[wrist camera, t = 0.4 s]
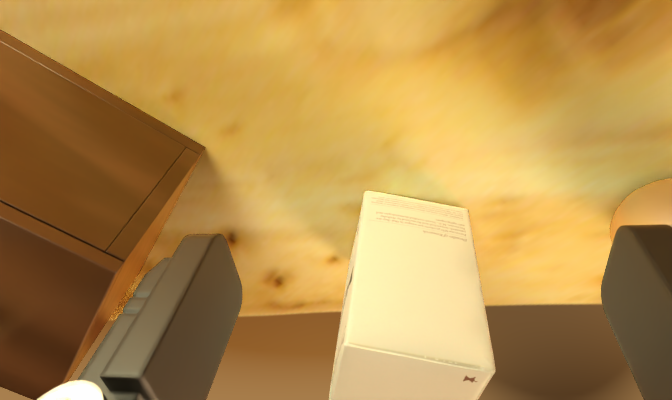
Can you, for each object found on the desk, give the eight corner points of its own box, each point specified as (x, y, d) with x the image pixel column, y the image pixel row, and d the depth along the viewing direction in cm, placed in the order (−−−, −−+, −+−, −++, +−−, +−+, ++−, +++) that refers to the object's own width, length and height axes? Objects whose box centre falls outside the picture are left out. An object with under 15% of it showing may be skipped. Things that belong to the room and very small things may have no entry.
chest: (139, 271, 39) (62, 390, 30) (-29, 190, 36) (-171, 296, 27) (205, 147, 31) (125, 260, 22) (-6, 26, 27) (-201, 101, 19)
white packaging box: (363, 186, 31) (343, 342, 21) (471, 207, 31) (503, 373, 21) (345, 263, 35) (322, 422, 25) (440, 281, 35) (454, 448, 25)
